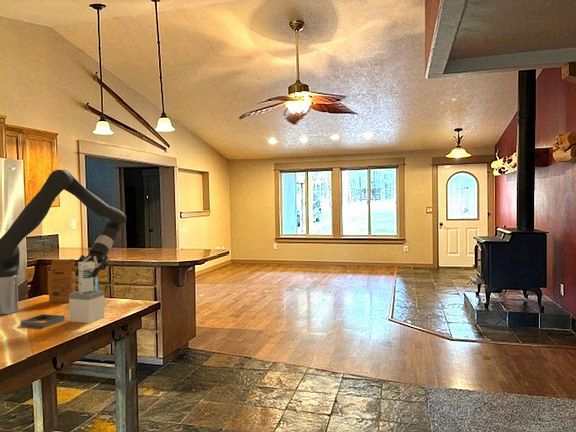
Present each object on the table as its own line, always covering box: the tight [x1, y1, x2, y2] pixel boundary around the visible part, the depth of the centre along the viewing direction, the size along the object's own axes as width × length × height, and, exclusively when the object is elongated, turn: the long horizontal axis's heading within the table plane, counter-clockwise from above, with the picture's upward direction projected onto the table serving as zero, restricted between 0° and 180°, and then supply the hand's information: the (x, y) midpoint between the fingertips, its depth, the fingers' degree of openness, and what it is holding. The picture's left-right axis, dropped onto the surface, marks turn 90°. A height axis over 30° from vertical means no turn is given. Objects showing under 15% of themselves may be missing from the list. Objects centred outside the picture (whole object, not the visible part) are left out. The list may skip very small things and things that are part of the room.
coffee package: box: [48, 258, 76, 304], centre depth 222 cm, size 10×12×22 cm
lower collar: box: [20, 313, 66, 329], centre depth 183 cm, size 12×12×2 cm
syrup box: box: [77, 261, 96, 295], centre depth 188 cm, size 6×6×14 cm
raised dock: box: [68, 289, 105, 324], centre depth 189 cm, size 10×10×12 cm
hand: (84, 275), depth 187 cm, fingers closed on syrup box, 8 cm apart
